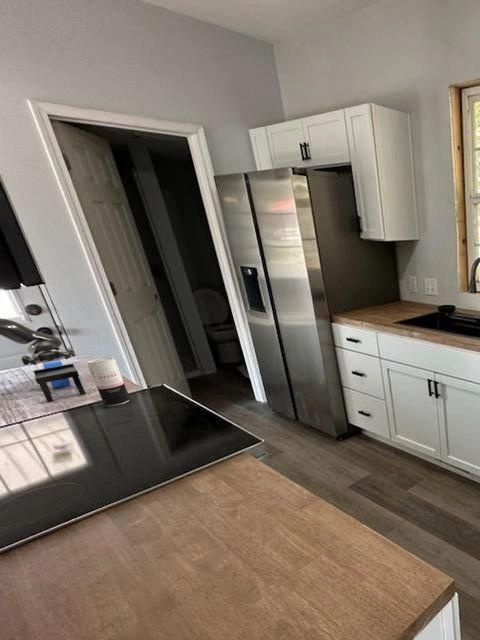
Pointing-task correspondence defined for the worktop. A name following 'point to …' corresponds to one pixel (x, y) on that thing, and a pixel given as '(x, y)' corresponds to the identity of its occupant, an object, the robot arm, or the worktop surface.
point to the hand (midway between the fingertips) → (50, 359)
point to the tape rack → (57, 378)
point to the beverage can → (108, 381)
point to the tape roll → (59, 382)
